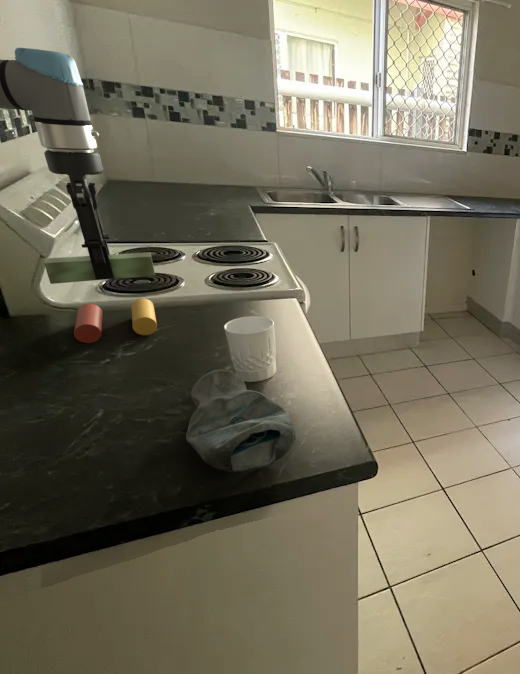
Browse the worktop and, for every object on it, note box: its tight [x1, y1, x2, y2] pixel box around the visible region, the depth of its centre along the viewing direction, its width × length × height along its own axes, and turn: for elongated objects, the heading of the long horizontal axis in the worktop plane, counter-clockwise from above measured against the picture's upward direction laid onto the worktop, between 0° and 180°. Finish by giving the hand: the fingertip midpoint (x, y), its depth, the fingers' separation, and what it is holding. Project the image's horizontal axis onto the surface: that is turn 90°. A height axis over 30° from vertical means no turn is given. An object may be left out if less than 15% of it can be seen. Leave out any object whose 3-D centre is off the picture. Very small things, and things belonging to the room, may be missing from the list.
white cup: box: [223, 315, 277, 383], centre depth 86 cm, size 8×8×10 cm
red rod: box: [73, 303, 103, 344], centre depth 96 cm, size 12×4×4 cm, turn 37°
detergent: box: [185, 368, 297, 473], centre depth 71 cm, size 13×7×25 cm
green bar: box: [43, 251, 156, 285], centre depth 93 cm, size 16×4×4 cm, turn 126°
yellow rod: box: [130, 297, 158, 336], centre depth 101 cm, size 12×4×4 cm, turn 37°
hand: (105, 275), depth 94 cm, fingers closed on green bar, 3 cm apart
